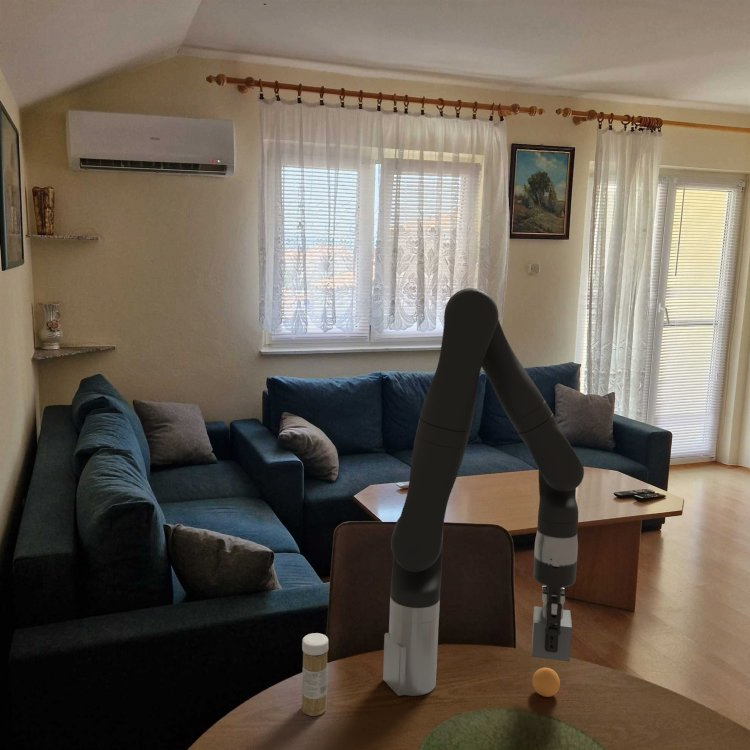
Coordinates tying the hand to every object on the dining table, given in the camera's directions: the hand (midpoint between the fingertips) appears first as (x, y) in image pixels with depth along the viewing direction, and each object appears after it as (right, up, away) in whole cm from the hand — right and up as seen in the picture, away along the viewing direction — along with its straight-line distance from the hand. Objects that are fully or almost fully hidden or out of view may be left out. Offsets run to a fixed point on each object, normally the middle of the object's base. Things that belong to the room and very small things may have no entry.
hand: (550, 640), depth 133 cm
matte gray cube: (0, -2, 0) cm, 2 cm away
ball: (0, -8, +1) cm, 8 cm away
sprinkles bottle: (-43, -10, -5) cm, 45 cm away
